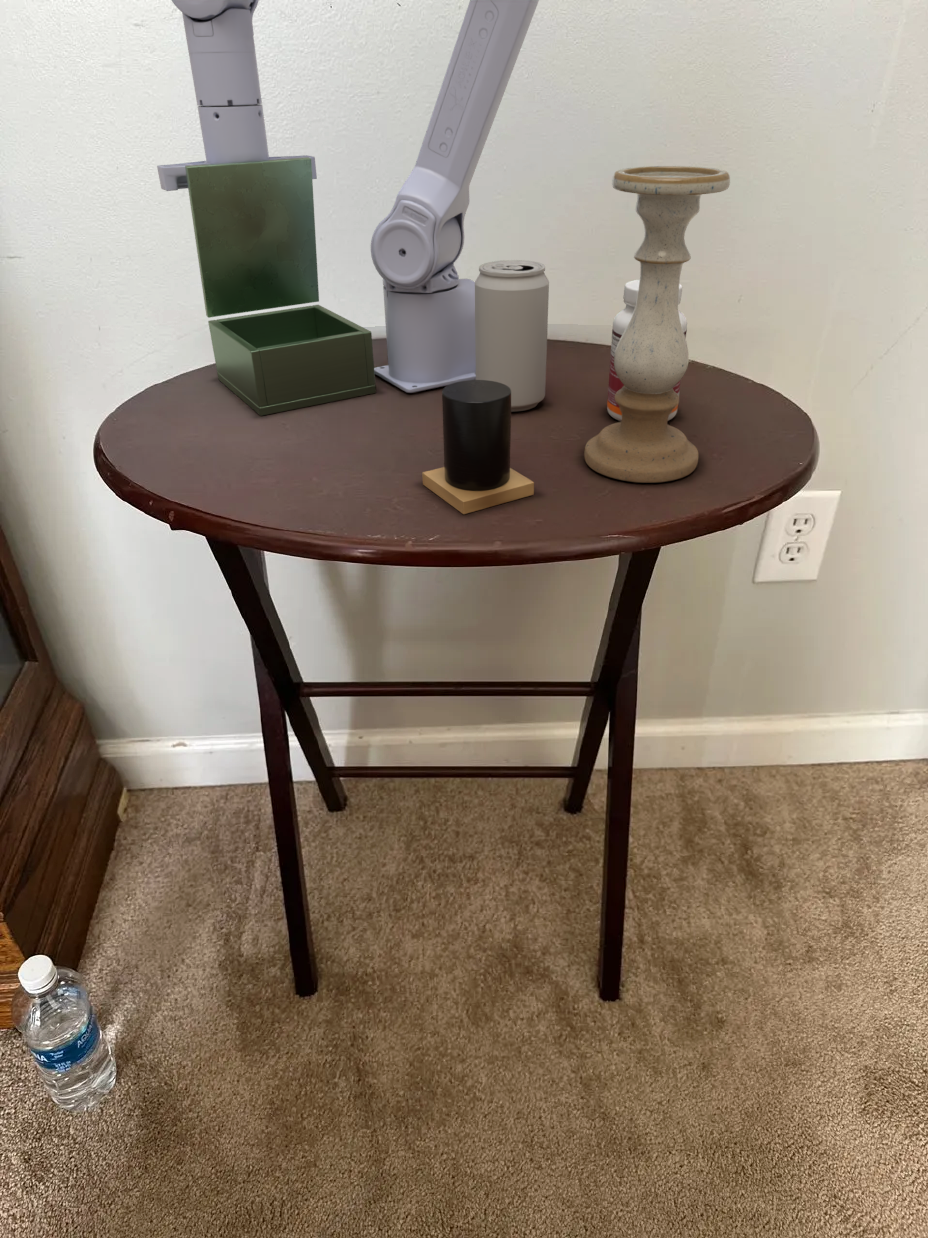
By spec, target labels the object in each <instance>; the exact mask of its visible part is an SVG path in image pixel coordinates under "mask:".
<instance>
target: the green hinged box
mask: <svg viewBox="0 0 928 1238" xmlns="http://www.w3.org/2000/svg"><path fill="white" fill-rule="evenodd" d="M207 322H208V328H209V334H210V335H209V336H210V339H211V345H212V351H213V357H214V363H215V368H216V372H217V379H218V381H220V383H222V384H223V385H224V386H225V387H226V388H227V389H229V390H230V391H231V392H232V393H234V394H235V395H236V396H237V397H238V398H239V399H240V400H241V401H243V402H244V403H245V404H246V405H247V406H249V408H251V409H252V410H253V411H255V413H257V414H258V415H259V416H261V417H263V416H268V415H272V414H277V413H282V412H283V413H284V412H287V411H292V410H297V409H303V408H308V407H313V406H316V405H317V406H318V405H322V404H326V403H332V402H337V401H342V400H346V399H347V400H348V399H351V398H352V399H353V398H357V397H362V396H367V395H372V394H375V393H377V391H376V377H375V375H376V374H374V368H375V361H374V347H373V334H372V331H371V330H369V329H368V328H365V327H363V326H361V325H359V324H358V323H355V322H354V321H351V320H350V319H348V318H345V317H344V316H342V315H339V314H338V313H336V312H334V311H332V310H330V309H328V308H326V307H324V306H322V305H320V304H313V305H308V306H307V305H305V306H299V307H292V308H286V309H281V310H280V309H279V310H271V311H267V312H265V311H264V312H257V313H251V314H245V315H238V316H231V317H224V318H217V319H211V320H208V321H207Z"/></svg>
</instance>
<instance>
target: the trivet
mask: <svg viewBox="0 0 928 1238" xmlns="http://www.w3.org/2000/svg"><path fill="white" fill-rule="evenodd" d="M421 473H422V475H421V476H422V485H423V486H424V487H426V489H428V490H430V491H431V492H432V493H434V494H435V495H437V496H438V497H439V498H441V499H442V500H443V501H444V502H446V503H447V504H449V505H450V506H452V507H453V508H454V509H455V510H457V511H458V512H460V513H461V514H462V515H467V514H470V513H474V512H477V511H481V510H485V509H488V508H492V507H495V506H498V505H503V504H506V503H509V502H512V501H517V500H520V499H524V498H528V497H530V496H534V494H535V482H534V481H533V480H531V479H530V478H528V477H527V476H524V475H523V474H521V473H520V472H518V471H516V470H515V469H513V468H511V467H510V479H509V481H508V482H507V483H506V484H505V485H503V486H501V487H498V488H495V489H491V490H484V491H469V490H462V489H458V488H455V487H453V486H451V485H449V484H448V483H447V482H446V480H445V473H444V466H443V467H438V468H435V469H430V470H426V471H422V472H421Z"/></svg>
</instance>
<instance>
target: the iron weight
mask: <svg viewBox="0 0 928 1238" xmlns="http://www.w3.org/2000/svg"><path fill="white" fill-rule="evenodd" d="M441 400H442V401H441V402H442V403H441V404H442V405H441V407H442V433H443V434H442V435H443V467H444V473H445V480H446V482H447V483H448V484H449V485H451V486H453V487H455V488H458V489H462V490H469V491H484V490H491V489H495V488H498V487H501V486H503V485H505V484H506V483H507V482H508V481H509V479H510V468H511V440H512V439H511V437H512V436H511V435H512V434H511V433H512V412H511V389H510V388H509V387H508V386H507V385H505V384H502V383H499V382H494V381H488V380H468V381H461V382H456V383H453V384H450V385H447V386H444V388H443V389H442V392H441Z"/></svg>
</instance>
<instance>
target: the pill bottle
mask: <svg viewBox="0 0 928 1238" xmlns="http://www.w3.org/2000/svg"><path fill="white" fill-rule="evenodd" d="M639 282H640V279H633V280H629V281H627V282H626V283H625V284H624V289H623V296H622V298H623V303H624V304H625V307H624V308H623V309H621V310H620V311H618V312H617V314H615V316H614V318H613V321H612V330H611V343H610V344H611V345H610V358H609V369H608V384H607V385H608V386H607V401H606V409H607V413H608V415H609V416H610V417H612V418H613V419H615V420H617V421H618V422H621V421H622V412H621V411H620V408H619V407H620V406H619V405H618V404H617V403H616V401H615V394H616V393H617V391H618V390H620V389H621V388H622V387H623V386H624V384H623V383H622V382H621V381H620V379H619V378H618V376H617V374H616V371H615V369H614V355H615V350H616V348H617V345H618V343H619V341H620V338H621V336H622V335H623V333H624V331H625V329H626V327H627V326H628V324H629V322H630V320H631V317H632V315H633V312H634V309H635V306H636V302H637V296H638V290H639ZM682 293H683V285H682V284H681V283H679V295H678V306H679V305H680V304H681V300H682ZM678 312H679V318H680V323H681V326H682V329H683V332H684V335H685V339H686V338H687V331H688V319H687V317H686V315H685V314H684V312H682V311H681V310H679V309H678ZM686 340H687V339H686ZM681 381H682V379H681V380H680V381H679V382H678V383H677V384H676V385H675V386H674V387H673V390H674V392H676V393H677V394H678V396H679V397H680V392H681V384H682V383H681ZM678 409H679V404H678V405H677V406H676V407H675V408H674V409H672V412H671V414H670V415H669V417H668V421H670V420H672V419H673V418H675V416H676V415H677V413H678Z"/></svg>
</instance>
